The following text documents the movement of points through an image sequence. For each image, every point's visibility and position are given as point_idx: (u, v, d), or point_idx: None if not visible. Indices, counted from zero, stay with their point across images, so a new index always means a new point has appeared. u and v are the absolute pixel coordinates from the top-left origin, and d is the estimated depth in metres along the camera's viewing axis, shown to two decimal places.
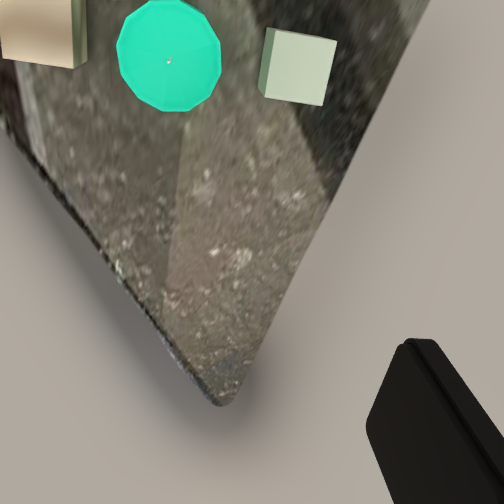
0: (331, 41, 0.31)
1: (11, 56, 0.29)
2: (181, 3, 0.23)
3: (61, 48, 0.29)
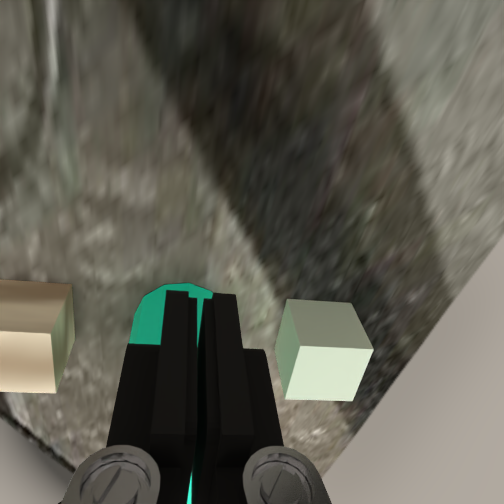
0: (366, 349, 0.25)
1: None
2: None
3: (41, 378, 0.24)
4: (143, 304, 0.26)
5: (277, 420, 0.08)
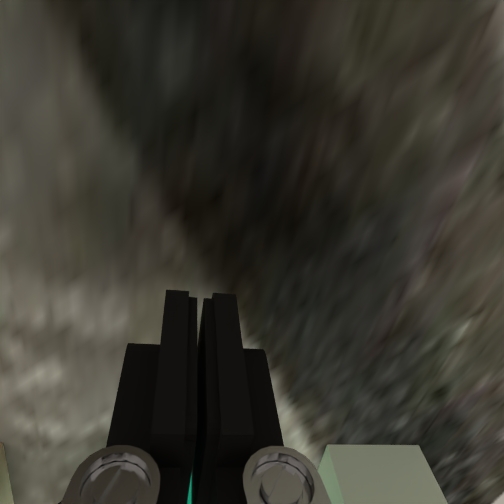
0: None
1: None
2: None
3: None
4: None
5: (277, 420, 0.08)
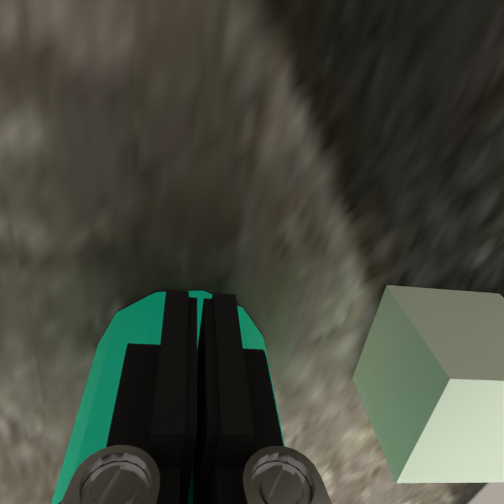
0: None
1: None
2: None
3: None
4: (114, 328, 0.14)
5: (277, 420, 0.08)
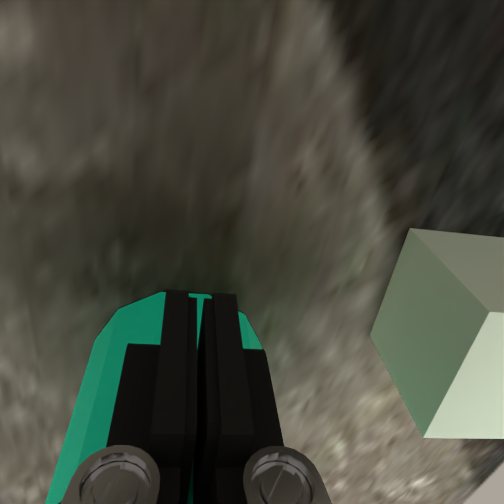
0: None
1: None
2: None
3: None
4: (116, 325, 0.13)
5: (277, 420, 0.08)
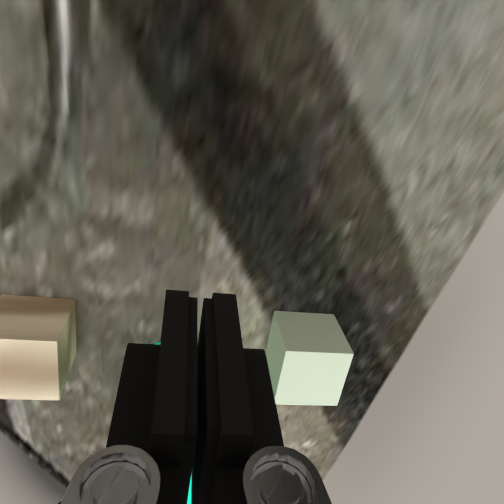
0: (347, 354, 0.28)
1: None
2: None
3: (46, 385, 0.26)
4: None
5: (277, 420, 0.08)
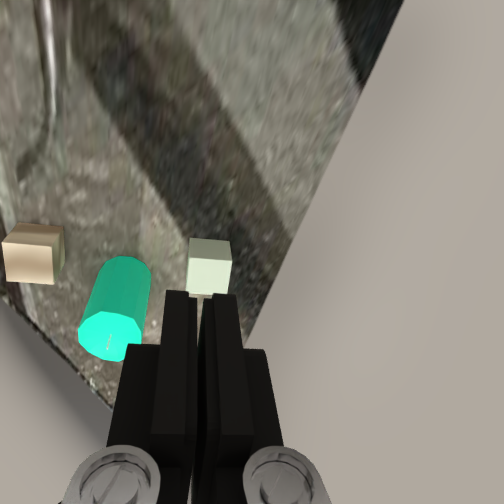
0: (228, 261, 0.46)
1: (12, 280, 0.44)
2: (119, 314, 0.40)
3: (45, 274, 0.44)
4: (105, 264, 0.48)
5: (277, 420, 0.08)
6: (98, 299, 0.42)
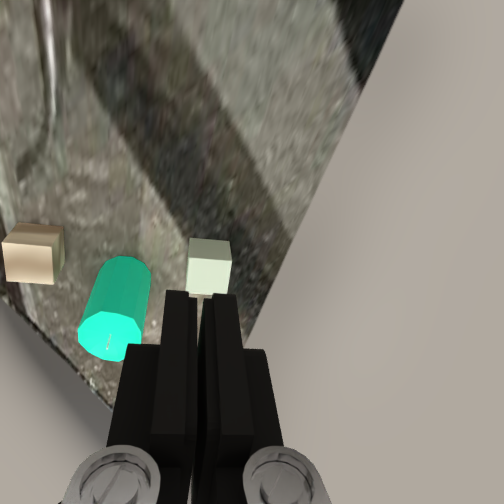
0: (228, 261, 0.46)
1: (12, 280, 0.44)
2: (119, 314, 0.40)
3: (46, 274, 0.44)
4: (105, 264, 0.48)
5: (277, 420, 0.08)
6: (98, 299, 0.42)
